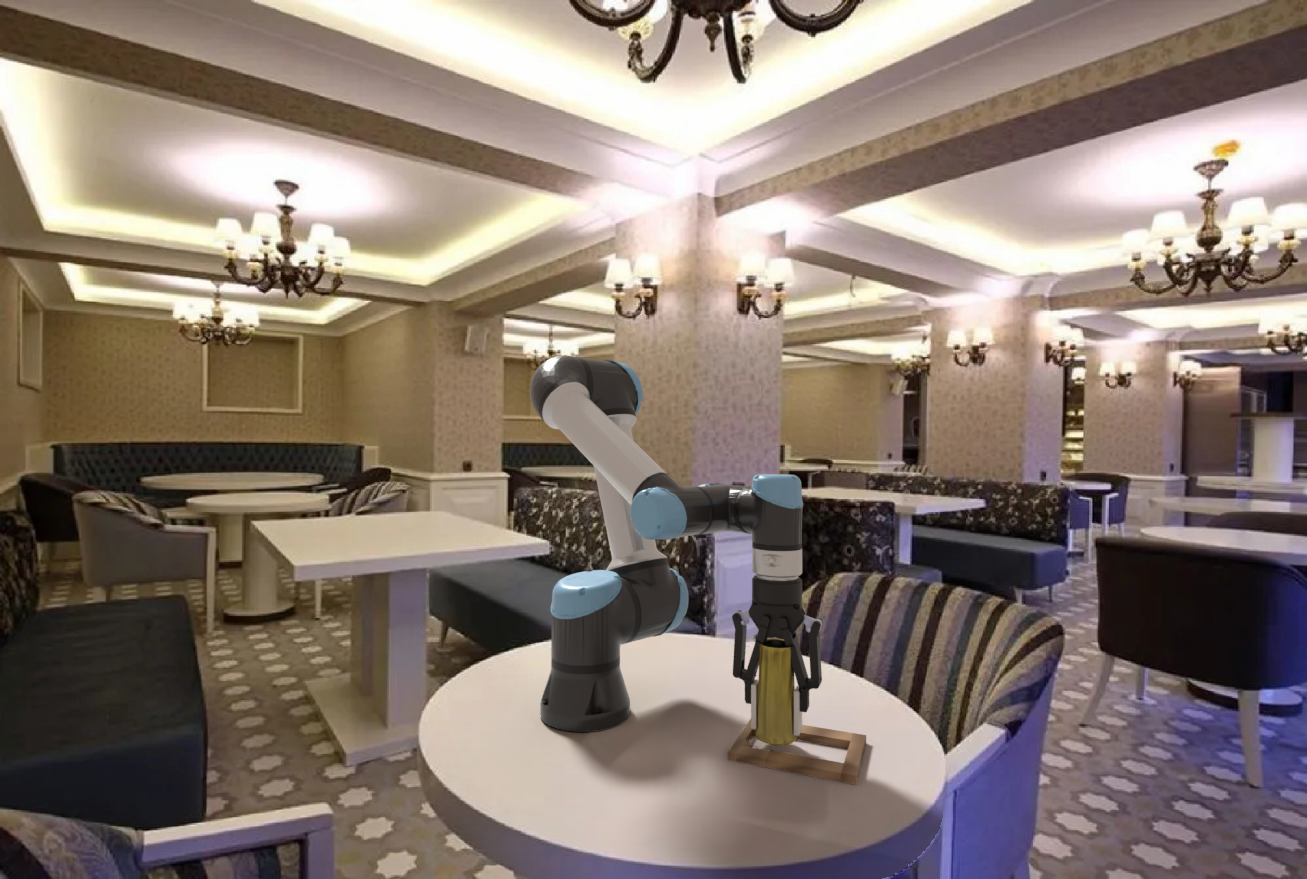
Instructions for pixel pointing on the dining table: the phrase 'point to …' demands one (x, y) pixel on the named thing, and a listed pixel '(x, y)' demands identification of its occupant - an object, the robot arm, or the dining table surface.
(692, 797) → the dining table surface
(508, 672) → the dining table surface
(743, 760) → the keyhole board
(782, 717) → the vase
